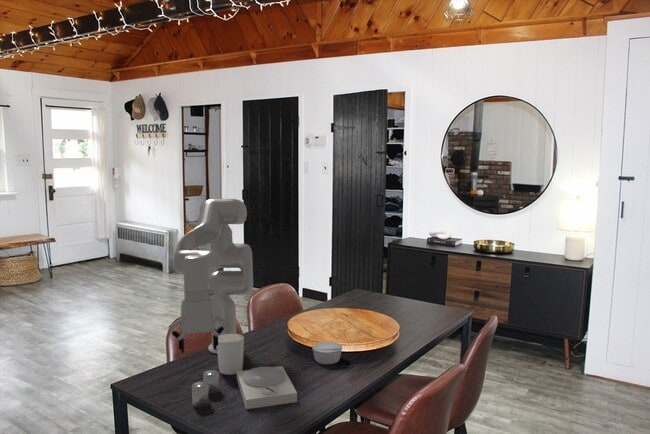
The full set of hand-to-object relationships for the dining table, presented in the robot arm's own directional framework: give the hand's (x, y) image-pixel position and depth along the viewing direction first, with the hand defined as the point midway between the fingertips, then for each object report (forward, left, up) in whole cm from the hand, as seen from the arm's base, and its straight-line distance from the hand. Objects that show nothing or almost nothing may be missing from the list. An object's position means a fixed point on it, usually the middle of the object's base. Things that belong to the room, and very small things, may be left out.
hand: (198, 349), depth 162 cm
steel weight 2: (-8, +4, -18) cm, 20 cm away
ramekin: (-22, +48, -18) cm, 56 cm away
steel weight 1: (0, 0, -18) cm, 18 cm away
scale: (-3, +21, -17) cm, 27 cm away
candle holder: (-23, +12, -18) cm, 32 cm away
